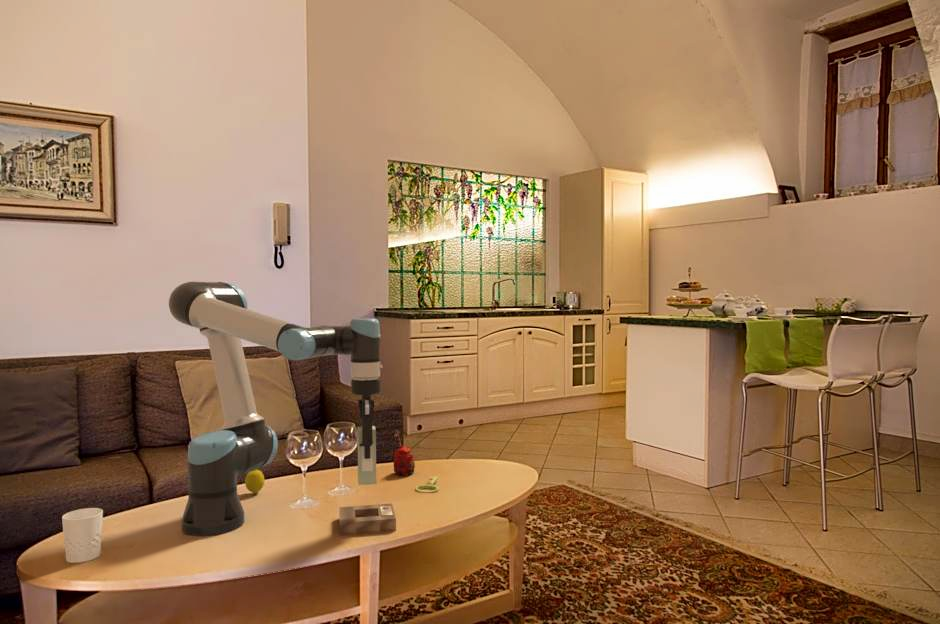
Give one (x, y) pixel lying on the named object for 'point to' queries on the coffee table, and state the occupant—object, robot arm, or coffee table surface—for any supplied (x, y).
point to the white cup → (82, 534)
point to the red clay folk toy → (403, 460)
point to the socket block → (366, 519)
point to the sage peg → (363, 476)
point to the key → (428, 486)
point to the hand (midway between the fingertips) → (366, 467)
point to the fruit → (254, 481)
